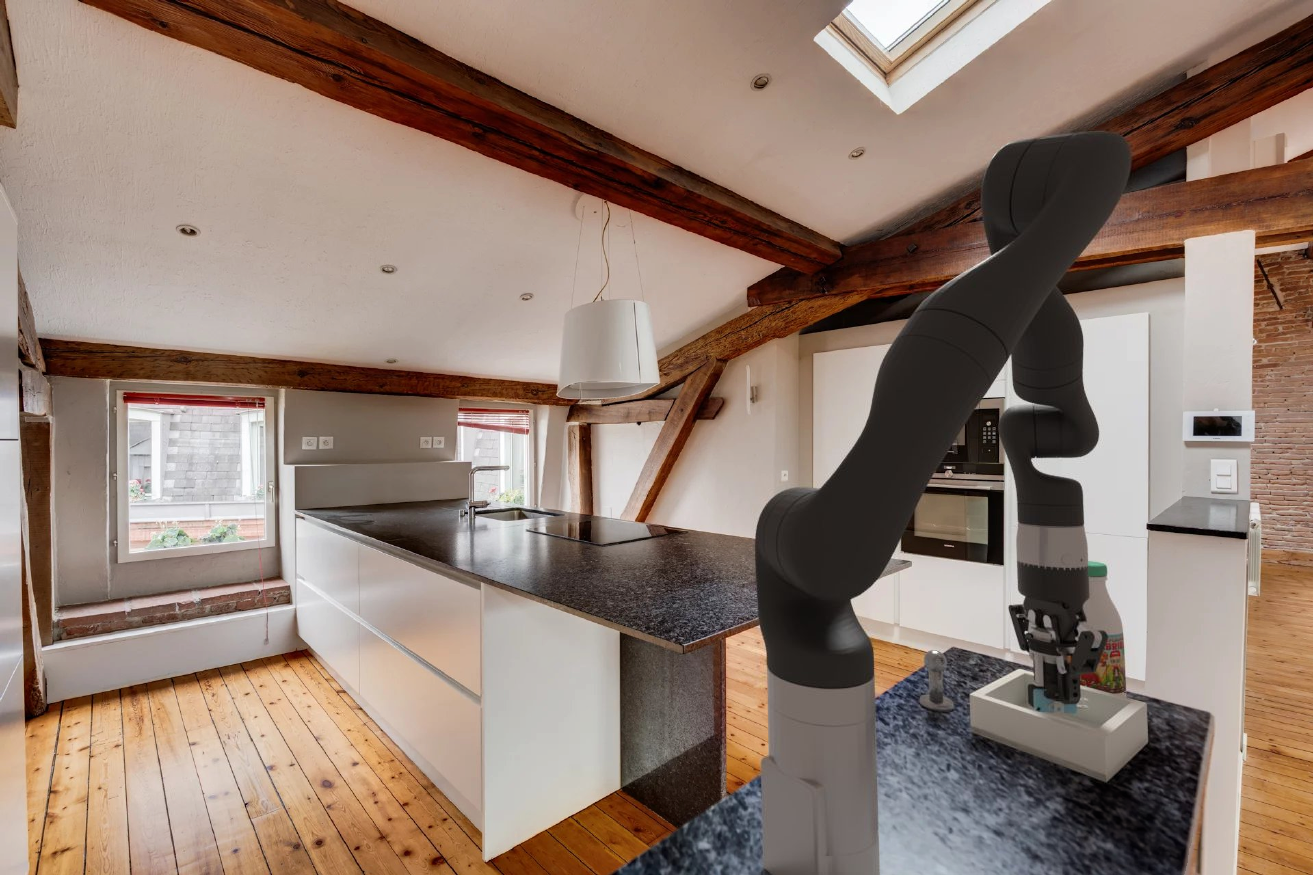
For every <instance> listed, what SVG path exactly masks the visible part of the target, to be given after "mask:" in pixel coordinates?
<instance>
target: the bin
mask: <svg viewBox="0 0 1313 875" xmlns="http://www.w3.org/2000/svg"><path fill="white" fill-rule="evenodd" d="M1033 681H1034V671H1029V670H1026V669H1022V668H1017V669H1015V670H1014V671H1012V672H1010V673H1008V674H1006V675H1004V676H1002V677H1001V678H999V679H996V680H995V681H993V682H990V683H988V684H986V685H985V686H983V687H981V688H979V689H977V690H975V691H973V692H970V693H969V713H970V714H969V717H970V718H969V719H970V720H969V721H970V733H973V734H976V735H978V736H981V737H984V738H987V739H989V740H991V741H994V742H997V743H1000V744H1002V745H1005V746H1007V747H1010V748H1013V749H1015V750H1018V751H1021V752H1023V753H1024V752H1025V753H1026V754H1029V755H1032V756H1034V757H1038V758H1040V759H1041V760H1045V761H1048V762H1051V763H1053V764H1056V765H1058V766H1061V767H1064V768H1066V769H1068V770H1072V771H1074V772H1077V773H1079V774H1083V775H1084V776H1085V775H1086V776H1088V777H1090V778H1093V779H1096V780H1098V781H1101V782H1104V783H1105V784H1106V783H1107V782H1108V781H1110V779H1112V778H1113V777H1115V775H1116V774H1117V773H1119V771H1120V770H1121V769H1122V768H1123V767H1124V766H1125V765H1126V764H1127V763H1128V762H1129V761H1130V760H1132V759H1133V758H1134V757H1135V756H1136V755H1137V754H1138V753H1139V752H1140V751H1141V750H1143V748H1144V747H1145V746H1147V744H1148V743H1149V733H1148V732H1149V731H1148V729H1149V728H1148V709H1147V708H1148V706H1147V702H1144V701H1140V700H1136V699H1132V698H1129V697H1127V696H1126V697H1122V696H1119V695H1115V694H1111V693H1108V692H1104V691H1100V690H1096V689H1093V688H1089V687H1085V686H1082V685H1080V691H1081V692H1080V693H1081V698H1086V699H1088V700H1089V701H1079V702H1078V703H1077V705H1086V706H1087V707H1089V709H1088V708H1080V709H1079V708H1077V713H1076V714H1068V713H1063V714H1056V713H1050V712H1037V711H1036V710H1035V709H1034V708H1033V707H1032V706H1031V705H1030V704H1029V703H1028V685H1029V684H1033ZM1082 700H1084V699H1082ZM1082 707H1084V706H1082Z"/></svg>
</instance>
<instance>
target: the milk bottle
mask: <svg viewBox="0 0 1313 875" xmlns="http://www.w3.org/2000/svg"><path fill="white" fill-rule="evenodd" d="M1088 568H1089V594H1090V597H1089V599H1088V600H1087V601H1086V602H1085V603H1084V604H1083V610H1084V613H1085V615H1086V618H1087V624H1089V625H1090V626H1091V627H1092V628H1093V629H1095V630H1096V631H1097V630H1103V631H1105V632H1106V633H1107V635H1108V640H1107V642H1106V645H1105V648H1104V650H1103V653H1102V656H1101V658H1100V661H1099V664H1098V666H1097V669H1096V672H1095V673H1087V674H1081V675H1080V685H1082V686H1085V687H1089V688H1093V689H1096V690H1100V691H1104V692H1108V693H1111V694H1115V695H1119V696H1122V697H1126V698H1127V679H1126V659H1125V658H1126V656H1125V638H1124V627H1123V622H1122V619H1121V615H1120V613H1119V612H1118V610H1117V608H1116V606H1115V603H1114V602H1113V600H1112V598H1111V596H1110V594H1109V592H1108V588H1107V585H1106V582H1107V580H1108V566H1107V564H1105V563H1102V562H1099V561H1093V560H1088ZM1070 661H1071V658H1070V656H1068V663H1070ZM1085 661H1086V660H1085ZM1085 661H1084V663H1085ZM1084 681H1085V682H1084ZM1093 683H1094V684H1093ZM1099 685H1101V686H1099ZM1103 686H1106V687H1103ZM1111 688H1114V689H1111ZM1117 690H1119V691H1117ZM1124 692H1126V693H1124Z"/></svg>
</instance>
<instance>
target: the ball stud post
mask: <svg viewBox="0 0 1313 875" xmlns="http://www.w3.org/2000/svg"><path fill="white" fill-rule="evenodd" d="M923 663H924V665H925V667H926V668H927V669H928V690H929V692H928V693H929V694H922V695H920V696H919V704H920V706H921V707H923V708H925V709H927V710H930V711H933V712H939V713H947V712H952V711H953V710H954V708H955V703H954V701H953V700H952V699H950V698H949V697H946V696H944V680H943V679H944V678H943V676H944V675H943V674H944V673H943V671H945V670H946V668H947V666H948V660H947V658H946V656H945V654H944V653H942V652H941V651H939V650H937V649H936V650H935V649H931V650H929V651H927V652H925V654H924V657H923Z"/></svg>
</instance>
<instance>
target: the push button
mask: <svg viewBox="0 0 1313 875" xmlns="http://www.w3.org/2000/svg"><path fill="white" fill-rule="evenodd" d="M1032 634H1033V636H1034V638H1032ZM1032 634H1030V633H1028V632H1026V633H1025V638H1026V639H1027V641H1028V646H1029V648H1030V649H1031V650H1033V651H1034V661H1035V681H1033V684H1029V685H1028V703H1029V704H1030V705H1031V706H1032V707H1033V708H1034V709H1035V710H1036V711H1037V712H1050V713H1056V714H1063V713H1068V714H1076V713H1077V708H1079V709H1080V708H1088V709H1089V707H1087V706H1086V705H1077V704H1067V705H1066V704H1064V703H1062V702H1060V701H1059V700H1058V680H1057V672H1059V671H1058V668H1057V662H1056V656H1061V655H1060V654H1058V653H1057V652H1056V647H1058V648H1070V647H1074V646H1076V642H1075V641H1074V642H1072V643H1060V644H1058V645H1057V644H1054V643H1050V633H1048V632H1047V630H1044V629H1042V628H1034V627H1033V632H1032ZM1071 655H1073V653H1071V654H1067V655H1066V658H1067V663H1068V656H1071ZM1082 699H1084V700H1082ZM1080 701H1089V700H1088V699H1086V698H1080ZM1082 706H1084V707H1082Z"/></svg>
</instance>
